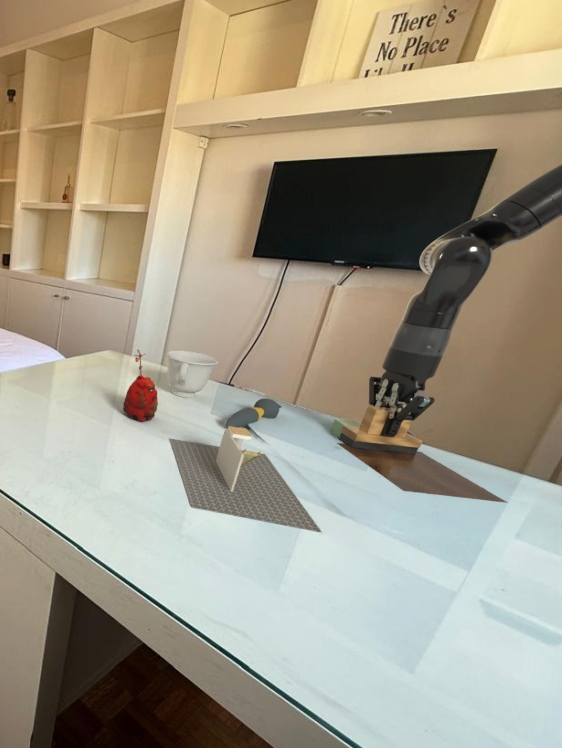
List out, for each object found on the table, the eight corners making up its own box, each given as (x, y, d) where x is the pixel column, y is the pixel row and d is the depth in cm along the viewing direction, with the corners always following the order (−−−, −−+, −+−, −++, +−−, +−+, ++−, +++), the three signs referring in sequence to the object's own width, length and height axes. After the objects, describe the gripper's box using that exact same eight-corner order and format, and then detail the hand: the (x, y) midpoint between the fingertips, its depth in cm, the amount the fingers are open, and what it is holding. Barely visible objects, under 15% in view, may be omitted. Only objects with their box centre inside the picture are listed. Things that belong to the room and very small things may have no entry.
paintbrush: (242, 436, 94) (249, 414, 93) (219, 427, 98) (225, 406, 96) (283, 419, 106) (289, 399, 104) (260, 411, 109) (266, 392, 108)
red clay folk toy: (150, 426, 97) (165, 358, 91) (117, 417, 100) (129, 351, 95) (157, 415, 103) (171, 351, 97) (126, 407, 106) (138, 345, 101)
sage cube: (360, 446, 94) (347, 437, 98) (367, 428, 93) (354, 420, 96) (339, 443, 94) (328, 435, 98) (346, 426, 93) (334, 418, 97)
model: (234, 464, 82) (246, 426, 80) (252, 495, 73) (266, 453, 70) (215, 461, 83) (226, 423, 80) (230, 491, 73) (243, 449, 71)
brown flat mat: (418, 456, 91) (420, 451, 91) (504, 508, 74) (508, 502, 74) (333, 447, 92) (335, 442, 92) (400, 496, 76) (403, 490, 75)
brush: (399, 445, 93) (415, 408, 90) (416, 454, 89) (433, 417, 86) (337, 438, 94) (351, 402, 91) (351, 447, 90) (366, 410, 87)
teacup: (150, 396, 114) (158, 358, 111) (165, 382, 126) (173, 347, 122) (201, 409, 108) (211, 369, 104) (212, 394, 119) (222, 357, 116)
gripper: (471, 360, 78) (430, 450, 84) (408, 342, 91) (376, 421, 97) (425, 356, 78) (387, 446, 84) (369, 338, 91) (339, 417, 97)
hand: (381, 432), depth 91 cm, fingers closed on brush, 2 cm apart
